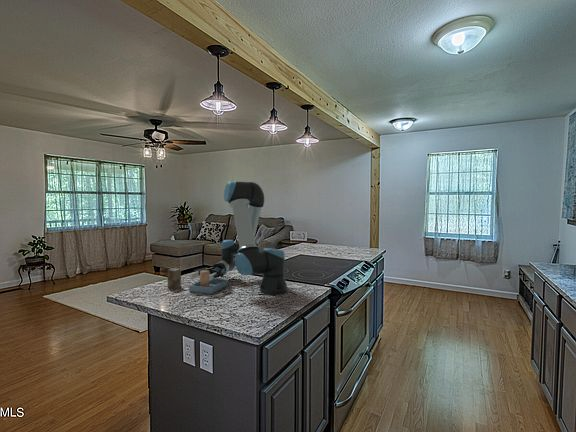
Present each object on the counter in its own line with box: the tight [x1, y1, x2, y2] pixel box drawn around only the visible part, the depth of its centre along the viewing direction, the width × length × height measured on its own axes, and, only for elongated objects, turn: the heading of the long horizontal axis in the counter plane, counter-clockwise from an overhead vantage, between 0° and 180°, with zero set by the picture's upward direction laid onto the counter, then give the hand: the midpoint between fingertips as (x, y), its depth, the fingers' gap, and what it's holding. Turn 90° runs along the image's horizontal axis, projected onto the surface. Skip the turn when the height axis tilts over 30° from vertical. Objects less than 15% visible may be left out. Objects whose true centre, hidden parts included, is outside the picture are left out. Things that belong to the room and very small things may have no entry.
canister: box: [199, 270, 211, 287], centre depth 171 cm, size 5×5×10 cm
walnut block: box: [167, 267, 182, 289], centre depth 178 cm, size 5×5×10 cm
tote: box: [188, 278, 228, 295], centre depth 176 cm, size 14×18×4 cm
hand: (200, 277), depth 167 cm, fingers open, 10 cm apart
